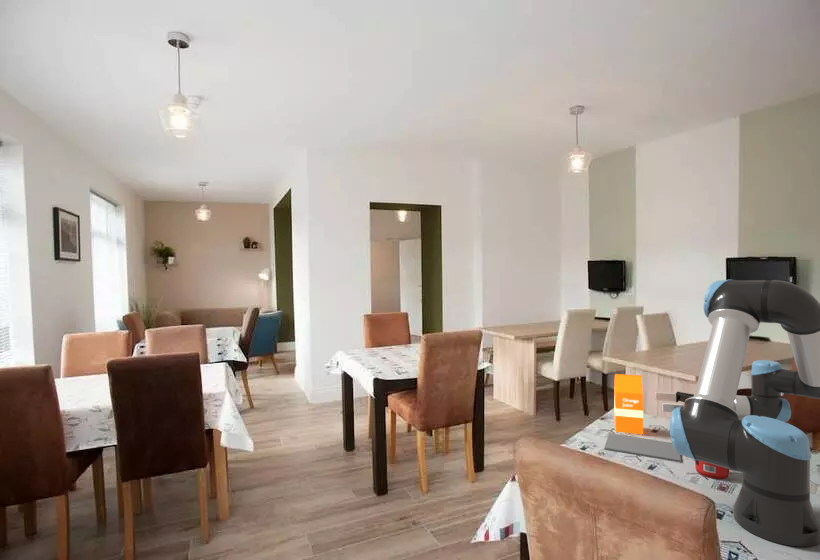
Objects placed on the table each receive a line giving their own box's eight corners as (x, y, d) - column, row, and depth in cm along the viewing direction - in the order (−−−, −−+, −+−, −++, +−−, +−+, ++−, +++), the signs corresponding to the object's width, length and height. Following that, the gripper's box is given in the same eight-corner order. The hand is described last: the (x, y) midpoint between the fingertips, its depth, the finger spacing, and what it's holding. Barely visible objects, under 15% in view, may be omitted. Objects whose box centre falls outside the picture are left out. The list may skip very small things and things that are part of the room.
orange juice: (643, 435, 155) (643, 378, 154) (615, 432, 158) (614, 376, 157) (641, 427, 162) (640, 372, 161) (614, 425, 165) (613, 371, 165)
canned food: (736, 479, 122) (735, 439, 122) (706, 480, 122) (706, 440, 122) (717, 466, 130) (717, 429, 129) (689, 467, 130) (689, 430, 130)
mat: (680, 462, 133) (680, 460, 133) (604, 449, 144) (604, 447, 144) (679, 445, 145) (679, 443, 145) (609, 434, 156) (609, 433, 156)
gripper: (744, 430, 138) (666, 424, 145) (719, 406, 161) (652, 401, 168) (744, 406, 137) (665, 401, 145) (719, 385, 161) (652, 381, 168)
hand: (658, 401), depth 156 cm, fingers open, 13 cm apart
